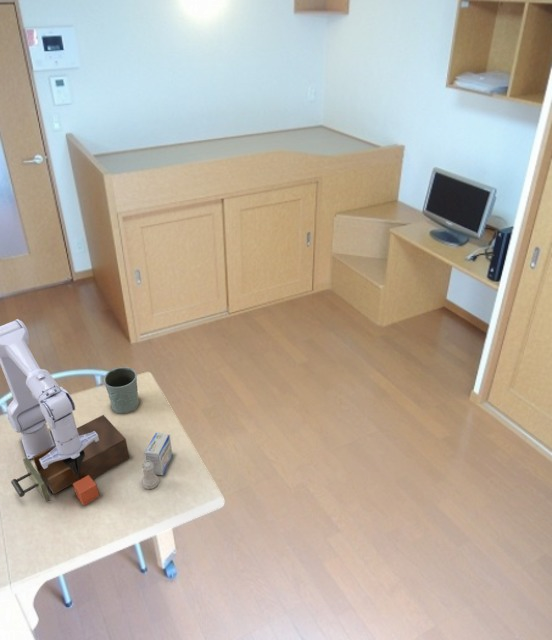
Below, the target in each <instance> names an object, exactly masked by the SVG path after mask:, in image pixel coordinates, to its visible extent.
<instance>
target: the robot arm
mask: <svg viewBox="0 0 552 640" xmlns="http://www.w3.org/2000/svg"><path fill="white" fill-rule="evenodd" d="M29 346H30V333H29V330H28V328H27V326H26V324H25V323H24V322H23V321H22V320H21V319H18V318H17V319H14V320H12V321H10V322H7V323H5V324H3V325H0V367H1V370H2V372H3V375H4V377H5V380H6V383H7V386H8V388H9V390H10V393H11V396H12V400H11V402H10V403H9V404H8V405H7V407H6V414H7V420H8V423H9V424H10V426H11V428H12V429H13V430H14V432H15V433H17V434H20V437H21V443H22V446H23V449H24V452H25V454H26V455H25V457H26V458H28V459H29V461H30V460H32V459H33V456H35V455H37V454H39V453H41V452H43V451H45V450H47V449H49V448H50V447H52V446H54V445H56V447H55V448H54V449H53V450H51V451H50V452H49V453H48V454H47V455H45V456H44V457H43V458H41V459H39V460H40V463H41V465H42V467H43V468H44V469H45V468H47V467H48V465H49V464H51V463H53V462H55V461H59V460H62V461H63V462H64V463H65V464H66V465H67V466H69V467H70V468H71V469H72V471H73V473H74V474H75V475H78V474H80V473H81V464H82V461H83V458H84V457H85V452H84V451H83V449H84V448H85V447H86V446H87V445H88V444H90V443H91V442H93V441H95V442H97V441H99V438H98V435H97V433H96V432H95V431H94V432H91V433H89V434H85V435H81V436H79V434H78V430H77V428H78V427H77V424H76V420H75V416H74V413H73V412H74V411H76V405H75V401H74V399H73V398H72V396H71V394H70V393H69V392H68V391H67V390H66V389H65V388H63V386H59V384H58V383H57V381H56V380H55V378H54V377H53V376H52V374H51V373H50V372H49V370H47V369H43V368H41V367H40V366H39V364H38V362H37V360H36V359H35V357H34V355H33V353H32V352H31V350H30V348H29ZM48 426H49V428H50V429H49V428H48ZM50 431H51V432H50Z"/></svg>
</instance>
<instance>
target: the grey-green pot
mask: <svg viewBox="0 0 552 640" xmlns="http://www.w3.org/2000/svg"><path fill="white" fill-rule="evenodd" d="M137 377H138V376H137V372H136V370H134V369H133V368H132V367H128V366H121V367H115V368H112V369H110V370H109V371H108V372H107V373H106V374H105V375H104V377H103V384H104V386H105V389H106V391H107V394H108V398H109V401H110V405H111V409H112V411H113V412H115V413H117V414H120V415H121V414H123V415H124V414H128V413H129V414H130V413H131V412H134V411H135V410H136V409H137V408H138V406H139V404H140V403H139V401H140V400H139V392H138V378H137Z"/></svg>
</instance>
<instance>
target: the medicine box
mask: <svg viewBox="0 0 552 640" xmlns="http://www.w3.org/2000/svg"><path fill="white" fill-rule="evenodd" d="M144 457H145V460H146V461H148V460H150V461H151V462H152V463H153V464H154V466H153V469H154V470H153V472H154V474H155V475H156V476H164V474H165V472H166V470H167V468H168V465H169V463H170V461H171V460H172V458H173V449H172V442H171V435H170V434H167V433H161V432H155V433H154V435H153V437H152V438H151V441H150V442H149V444H148V446H147V448H146V450H145V451H144Z"/></svg>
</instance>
